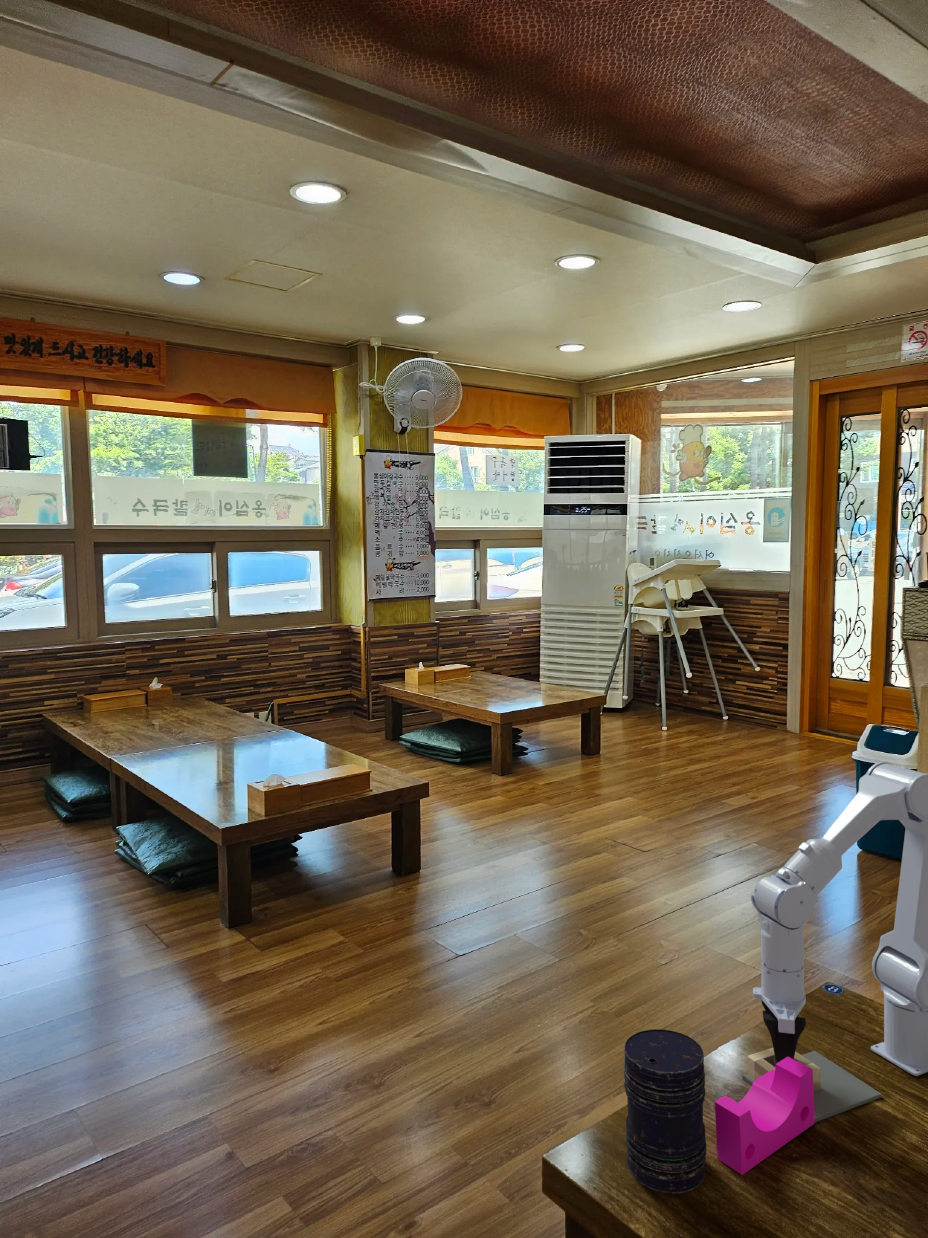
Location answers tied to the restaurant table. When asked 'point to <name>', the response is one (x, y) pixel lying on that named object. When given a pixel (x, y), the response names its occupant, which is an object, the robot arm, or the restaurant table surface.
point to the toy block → (765, 1115)
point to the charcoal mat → (835, 1089)
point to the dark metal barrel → (665, 1110)
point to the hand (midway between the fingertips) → (783, 1056)
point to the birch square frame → (765, 1063)
